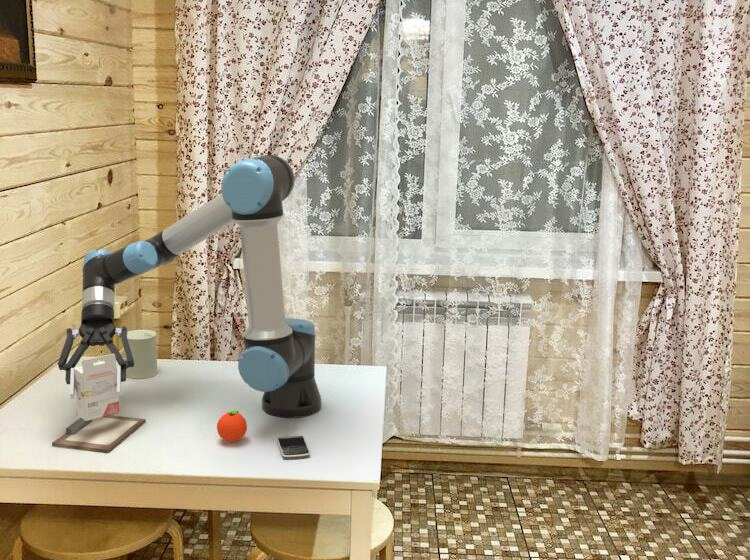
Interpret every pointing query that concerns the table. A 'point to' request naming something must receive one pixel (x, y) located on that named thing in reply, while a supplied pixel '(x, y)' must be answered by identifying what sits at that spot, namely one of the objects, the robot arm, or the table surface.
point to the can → (142, 354)
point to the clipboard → (99, 433)
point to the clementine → (232, 426)
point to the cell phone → (293, 447)
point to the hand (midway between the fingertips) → (95, 395)
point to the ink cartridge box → (96, 387)
